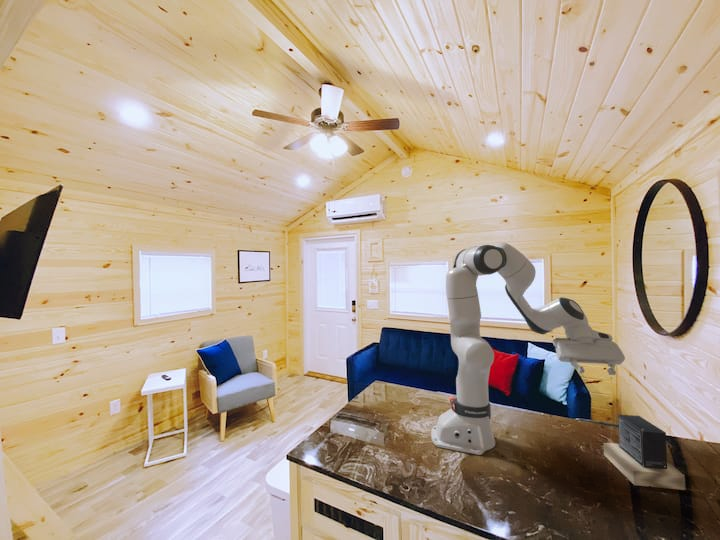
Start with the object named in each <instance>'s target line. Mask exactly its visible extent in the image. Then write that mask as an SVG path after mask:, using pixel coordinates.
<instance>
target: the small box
mask: <svg viewBox="0 0 720 540" xmlns="http://www.w3.org/2000/svg"><path fill="white" fill-rule="evenodd" d="M617 419H618V444H619V447H620V448H621V449H622V450H624V451H625V452H626V453H627V454H628V455H630V456H631V457H632V458H633V459H634V460H636V461H637V462H638V463H639V464H640V465H641V466H643V467H650V468H662V469H667V462H668V456H667V455H668V453H667V432H665V431H664V430H663V429H661V428H659V427H658V426H656V425H654V424H653V423H651V422H649V421H648V420H646V419H645V418H643V417H642V416H640V415H634V414H633V415H631V414H621V413H620V414H617Z"/></svg>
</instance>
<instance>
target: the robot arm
mask: <svg viewBox="0 0 720 540" xmlns="http://www.w3.org/2000/svg"><path fill="white" fill-rule="evenodd" d="M495 273H498V275H500V276H501V277H502V278H503V280H504V281H505V285H504V290H505V292H506V295H507V296H508V298H509V299H510V301H511V302H512V304H513V305H514V306H515V308H516V309H517V311H518V312H519V313H520V314H521V316H522V317H523V319H524V320H525V323H526V324H527V326H528V327H529V329H530V330H531V331H532V332H533V333H535V334H539V335H546V334H548V333H550V332H551V331H553V330H555V329H558V328H560V327H562V328H563V329H564V334H565V336H566V337H556V338H554V339H552V344H553V347H555V354H556V357H557V360H559V362H564V363H570V365H571V366H572V367H573V368H574V369H576V371H577V373H578V374H584V373H585V369H584V366H581V365H580V364H578V363H583V364H584V363H585V364H600V365H601V364H602V365H603V364H604V365H607V366H608V367H609V368H608V369H607V373H608V375H609V376H615V375H616V374H617V371H616V369H615V367H616V365H619V366H620V365H622V363H623V362H624V361H625V360H626V357H625V354H624V352H623V351H622V349H621V348H620V346H619V345H618V344H617V343H616V342H614V341H613V339H614V338H613V336H612V335H611V334H608V333H605V332H601V331H598V330H595V329H593V328H592V327H591V326H590V325H589V320H588V318H587V316H586V314H585V312H584V311H583V309H582V307H581V305H580V304H578V303H577V302H576V301H575V300H573V299H570V298H567V297H564V296H563V297H558V298H557V299H554V300H552V301H550V302H548V303H546V304H544V305H542V306H539V307H537V308H533V307H531V305H530V303H529V302H528V301H527V299H526V298H525V297H524V294H525V292H526V291H527V290H528V289H529V287H530V286H532V284H533V282H534V281H535V278H536V267H535V265H534V264H533V263H532V262H531V261H530V259H528V257H526V256H525V254H523V253H521V252H520V251H519V250H518V249H516V247H514V246H512V245H511V244H509V243H508V242H498V243H496V244H494V245H493V244H483V245H475V246H471V247H468V248H465V249H462V250H461V251H459V252H458V253H457V254H456V256H455V259H454V263H453V267H452V268H451V269H449V270H448V271H447V273H446V275H445V292H446V301H447V308H448V313H449V320H450V323H449V325H450V327H449V329H450V346H451V349H452V351H453V352H454V354H455V355H456V356H457V358H458V370H457V375H456V378H455V387H456V389H455V390H456V398H455V397H454V396H450V397H449V403H450V404H451V406H450V409H448V410H447V411H444V412H443V413H441V414H439V417H438V419H437V424H435V425H434V426H432V428H431V431H430V432H431V433H430V434H431V435H430V438H431V441H432V443H433V444H434V445H435V447H437V448H440V449H447V450H453V451H456V452H457V451H458V452H462V453H463V452H464V453H467V454H473V455H477V456H481V455H483V454H484V453H485V452H487V451H490V450H492V449H493V448H495V446H496V439H495V436H494V433H493V429H492V423H491V416H492V407H491V403H490V400H489V377H490V372H491V371H490V370H491V366H492V365H493V363H494V360H495V352H494V350H493V349H492V347H491V345H490V344H489V341H487V340H486V339H484V338H483V337H481V333H480V327H481V319H482V312H481V306H480V299H479V298H480V297H479V292H478V287H477V282H478V281H477V280H478V277H480V276H485V275H492V274H495Z"/></svg>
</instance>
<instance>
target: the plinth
mask: <svg viewBox="0 0 720 540" xmlns="http://www.w3.org/2000/svg"><path fill="white" fill-rule="evenodd" d="M603 456H605V458H607V460H609V462H611V463H612V464H613V466H615V468H617V469H618V470H619V472H621V474H622V475H623V476H625V477H626V479H628V480H629V482H631V484H633V486H642V487H649V486H651V488H659V489H661V488H662V489H672V490H679V491H680V490H681V491H686V477H685V476H686V475H685V474H683V473H682V472H681V471H680V470H679V469H677V468H676V467H675V466H674V465H673V464H671V463H670V462H668V461H667V469H662V468H650V467H643V466H641V465H640V464H639V463H638V462H637V461H636V460H634V459H633V458H632V457H631V456H630V455H628V454H627V453H626V452H625V451H624V450H622V449H621V448H620V447H619V443H612V442H603Z"/></svg>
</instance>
